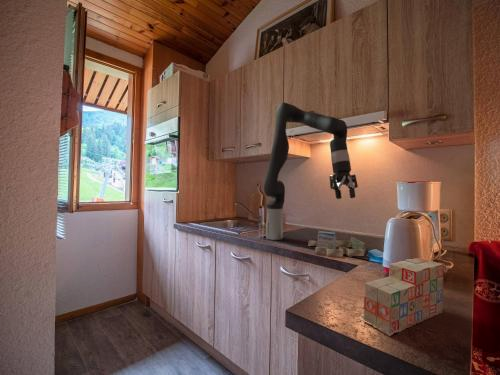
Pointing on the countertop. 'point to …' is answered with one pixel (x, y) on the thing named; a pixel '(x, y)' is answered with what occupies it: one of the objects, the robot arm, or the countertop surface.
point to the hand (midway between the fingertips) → (346, 198)
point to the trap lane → (341, 248)
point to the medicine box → (327, 239)
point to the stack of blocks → (404, 294)
